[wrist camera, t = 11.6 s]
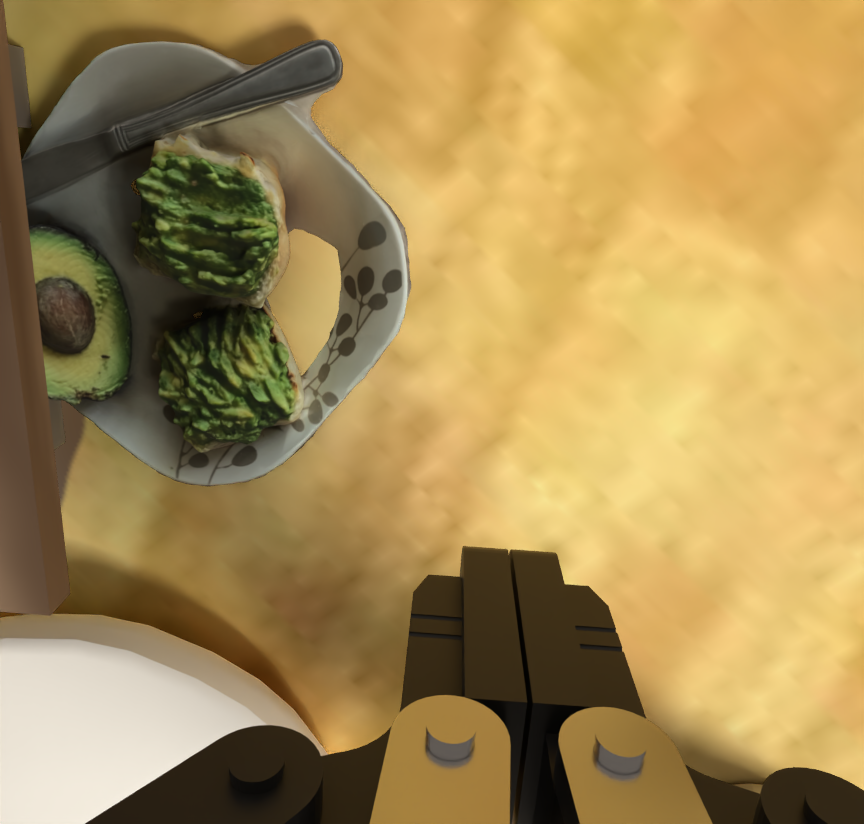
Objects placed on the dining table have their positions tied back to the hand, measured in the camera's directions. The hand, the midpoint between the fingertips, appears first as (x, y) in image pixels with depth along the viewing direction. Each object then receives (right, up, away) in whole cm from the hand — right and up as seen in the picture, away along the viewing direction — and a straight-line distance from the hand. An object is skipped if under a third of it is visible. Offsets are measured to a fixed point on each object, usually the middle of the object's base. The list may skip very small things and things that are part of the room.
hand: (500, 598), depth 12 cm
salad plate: (-12, +9, +21) cm, 25 cm away
